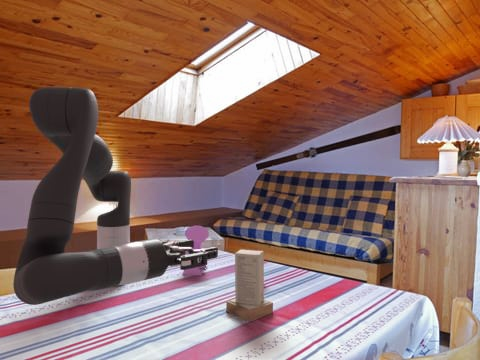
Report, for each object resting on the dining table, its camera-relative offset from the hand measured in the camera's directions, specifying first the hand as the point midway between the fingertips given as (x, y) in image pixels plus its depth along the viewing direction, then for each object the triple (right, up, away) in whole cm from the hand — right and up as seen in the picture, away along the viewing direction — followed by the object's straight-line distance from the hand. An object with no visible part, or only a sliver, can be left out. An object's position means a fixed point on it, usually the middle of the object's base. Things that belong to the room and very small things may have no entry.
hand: (204, 247), depth 82 cm
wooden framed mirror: (+10, -17, +8) cm, 22 cm away
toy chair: (-7, -16, +42) cm, 45 cm away
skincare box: (+10, -15, +8) cm, 20 cm away
